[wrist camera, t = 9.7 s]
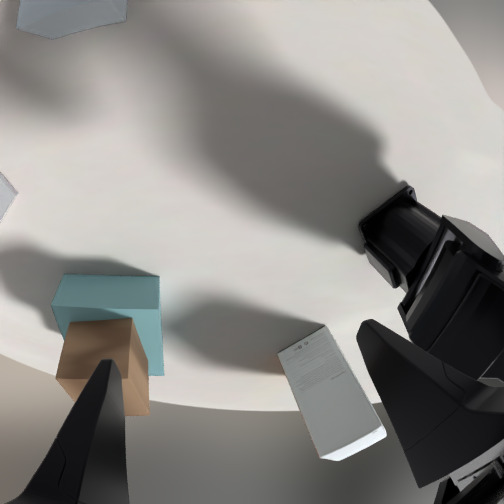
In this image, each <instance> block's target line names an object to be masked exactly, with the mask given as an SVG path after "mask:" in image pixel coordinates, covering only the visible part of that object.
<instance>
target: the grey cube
mask: <svg viewBox="0 0 504 504" xmlns="http://www.w3.org/2000/svg"><path fill="white" fill-rule="evenodd" d="M127 3H128V0H21V1H20V6H19V12H18V18H17V25H16V29H18V30H22V31H26V32H29V33H33V34H36V35H39V36H43V37H46V38H49V39H52V40H53V39H56V38H59V37H62V36H65V35H69V34H72V33H76V32H79V31H83V30H87V29H91V28H95V27H99V26H104V25H109V24H114V23H119V22H125V21H126V13H127Z"/></svg>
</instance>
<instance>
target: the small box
mask: <svg viewBox="0 0 504 504" xmlns="http://www.w3.org/2000/svg"><path fill="white" fill-rule="evenodd" d="M277 355H278V358H279V360H280V363H281V365H282V368H283V370H284V373H285V375H286V378H287V380H288V382H289V385H290V387H291V390H292V392H293V395H294V397H295V400H296V402H297V405H298V407H299V410H300V412H301V414H302V417H303V419H304V422H305V424H306V427H307V429H308V431H309V434H310V436H311V439H312V441H313V444H314V446H315V449H316V451H317V454H318V456H319V458H324V459H330V460H335V461H339V460H342V459H344V458H346V457H348V456H350V455H352V454H354V453H356V452H358V451H360V450H362V449H364V448H366V447H368V446H370V445H372V444H374V443H376V442H377V441H379V440H381V439H383V438H385V437H386V430H385V428H384V427H383V425H382V423H381V421H380V419H379V417H378V416H377V414H376V412H375V410H374V408H373V406H372V404H371V403H370V401H369V399H368V397H367V395H366V394H365V392H364V390H363V388H362V386H361V385H360V383H359V381H358V379H357V377H356V376H355V374H354V372H353V370H352V368H351V367H350V365H349V363H348V361H347V360H346V358H345V356H344V354H343V352H342V351H341V349H340V347H339V345H338V344H337V342H336V340H335V339H334V337H333V335H332V334H331V332H330V330H329V329H328V327H327V326H325V327H323V328H321V329H319V330H318V331H316V332H314V333H313V334H311V335H309V336H308V337H306V338H304V339H302V340H301V341H299V342H297V343H295V344H293V345H292V346H290V347H288V348H287V349H285V350H283V351H281V352H279V353H278V354H277Z"/></svg>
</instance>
